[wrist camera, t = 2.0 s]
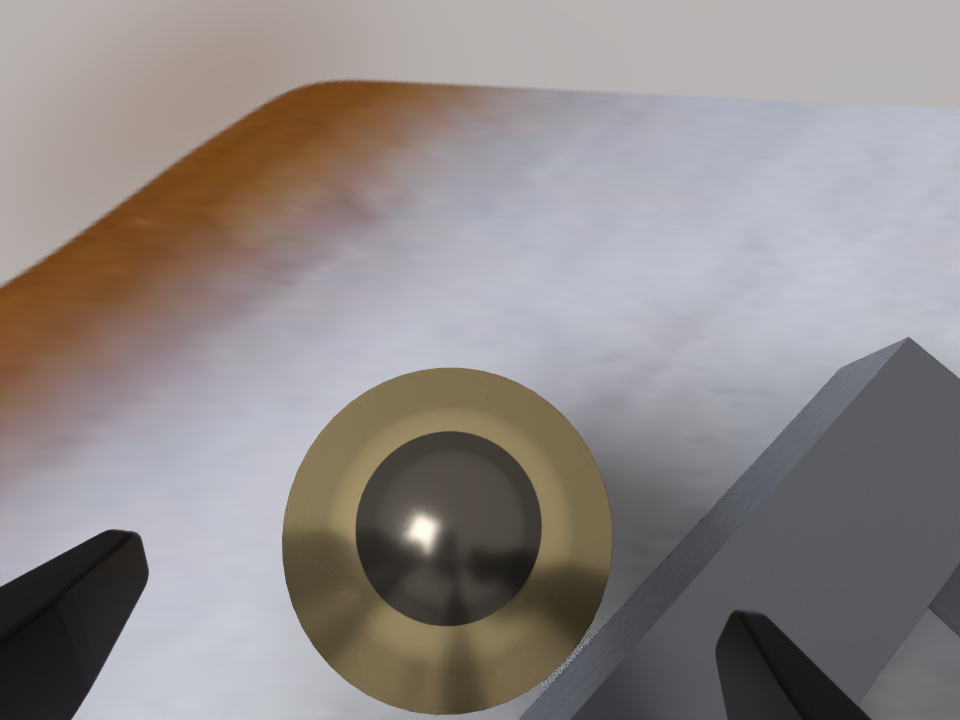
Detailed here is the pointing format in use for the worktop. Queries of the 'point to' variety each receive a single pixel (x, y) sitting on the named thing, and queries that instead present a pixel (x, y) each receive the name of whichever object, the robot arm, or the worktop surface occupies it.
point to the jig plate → (799, 551)
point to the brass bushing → (447, 541)
